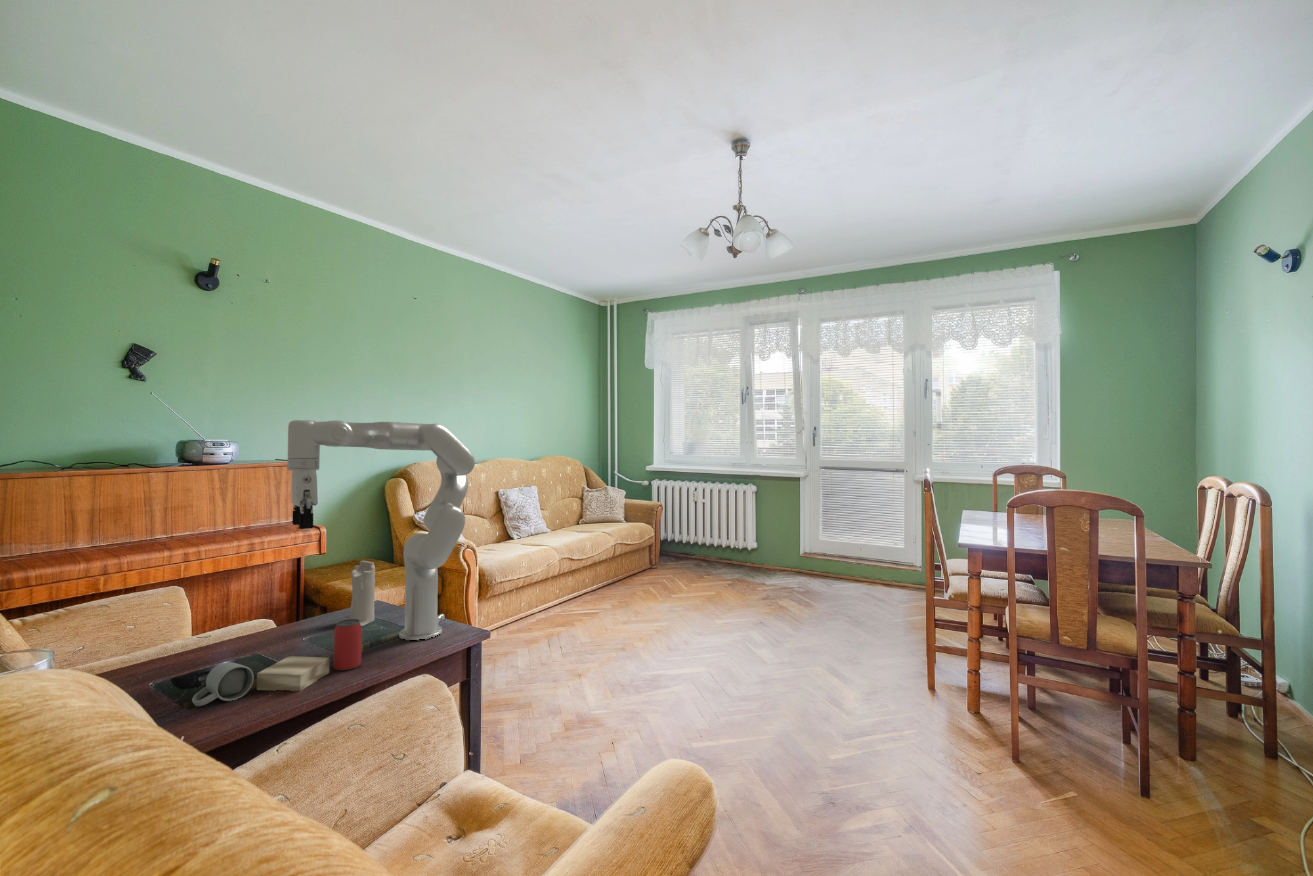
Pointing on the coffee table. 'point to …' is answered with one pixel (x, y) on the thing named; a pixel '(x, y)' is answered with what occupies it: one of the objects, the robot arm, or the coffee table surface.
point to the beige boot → (363, 592)
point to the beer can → (347, 644)
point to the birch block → (293, 673)
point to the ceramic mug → (225, 683)
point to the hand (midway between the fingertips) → (302, 526)
